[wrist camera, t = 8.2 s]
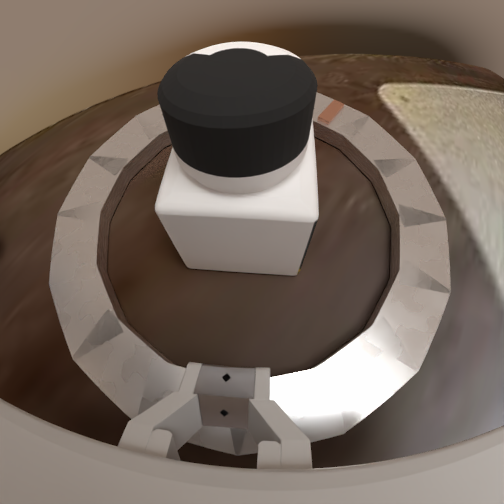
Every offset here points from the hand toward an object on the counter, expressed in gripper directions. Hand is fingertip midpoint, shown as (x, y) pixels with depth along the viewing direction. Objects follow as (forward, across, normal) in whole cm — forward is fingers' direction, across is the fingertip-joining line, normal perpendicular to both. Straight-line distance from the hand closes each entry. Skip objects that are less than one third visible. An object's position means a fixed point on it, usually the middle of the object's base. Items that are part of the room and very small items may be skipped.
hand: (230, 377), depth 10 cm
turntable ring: (+11, 0, -3) cm, 12 cm away
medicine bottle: (+12, 0, -3) cm, 12 cm away
